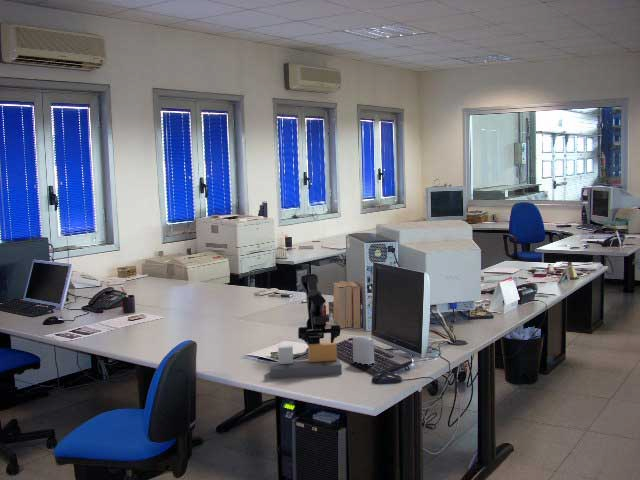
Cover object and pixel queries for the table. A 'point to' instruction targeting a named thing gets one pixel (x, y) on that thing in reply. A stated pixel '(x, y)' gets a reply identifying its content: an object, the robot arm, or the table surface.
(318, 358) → the orange slider
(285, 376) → the switch box
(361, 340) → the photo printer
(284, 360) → the white slider
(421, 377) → the table surface
